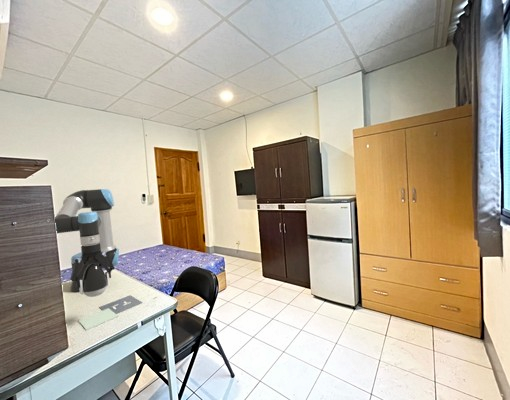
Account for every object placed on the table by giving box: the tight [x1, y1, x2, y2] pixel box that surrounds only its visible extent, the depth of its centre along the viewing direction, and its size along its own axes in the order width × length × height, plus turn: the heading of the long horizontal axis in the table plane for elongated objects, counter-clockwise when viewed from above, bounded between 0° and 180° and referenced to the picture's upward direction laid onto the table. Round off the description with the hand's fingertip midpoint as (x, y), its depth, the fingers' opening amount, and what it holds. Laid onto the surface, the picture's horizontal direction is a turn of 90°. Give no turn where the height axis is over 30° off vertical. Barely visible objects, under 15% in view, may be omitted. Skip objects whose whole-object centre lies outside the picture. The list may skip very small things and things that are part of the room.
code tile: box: [98, 294, 143, 315], centre depth 124 cm, size 16×16×1 cm
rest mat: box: [77, 308, 119, 331], centre depth 111 cm, size 13×13×1 cm
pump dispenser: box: [82, 262, 108, 298], centre depth 110 cm, size 10×10×15 cm
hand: (95, 289), depth 110 cm, fingers closed on pump dispenser, 10 cm apart
